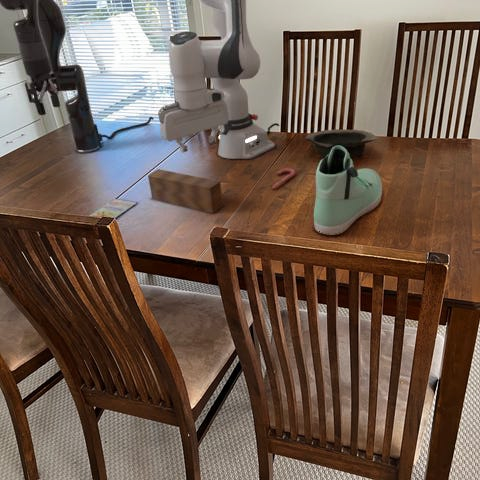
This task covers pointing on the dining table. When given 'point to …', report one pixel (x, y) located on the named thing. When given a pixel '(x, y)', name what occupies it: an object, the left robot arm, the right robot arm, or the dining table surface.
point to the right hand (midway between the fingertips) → (198, 146)
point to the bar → (186, 190)
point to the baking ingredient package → (113, 208)
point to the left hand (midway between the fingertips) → (49, 110)
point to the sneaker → (343, 192)
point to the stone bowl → (340, 141)
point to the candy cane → (284, 177)
